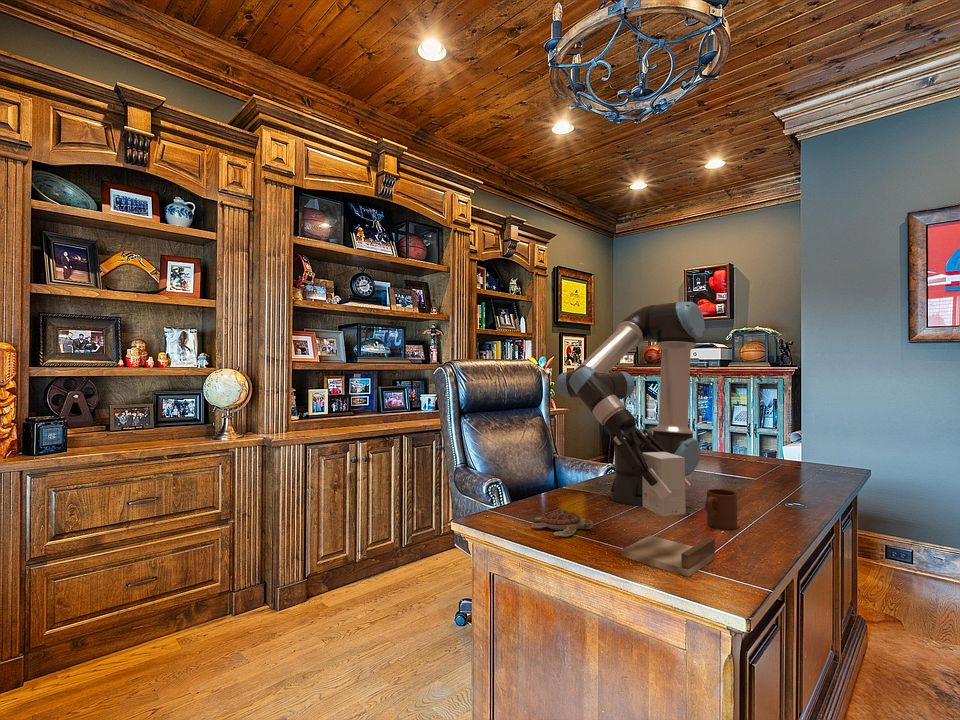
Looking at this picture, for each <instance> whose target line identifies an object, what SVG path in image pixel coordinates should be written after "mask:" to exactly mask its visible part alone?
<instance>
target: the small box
mask: <svg viewBox="0 0 960 720" xmlns="http://www.w3.org/2000/svg"><path fill="white" fill-rule="evenodd" d="M642 455H643V457H644V459H645V461H646V463H647V465H648V468H649V469H648V470H650V469H651V468H652V469H653V470H654V472H655V473H656V474H657V475H658V476H659V478H660V479H661V480H662V481H663V483H664V484H665V485H666V486H667V487H668V489H669V490H670V491H671V493H670V494H669V495H668V496H667V497H665V498H664V499H663V500H661V498H660V497H659V496H658V495H657V493H656V492H655V491H654V490H653V488H652V487H651V486H650V485H649V483H648V482H647V481H646V480H645V478H644V477H643V476H642V477H643V505H642V507H643V508H644V509H647V510H649V511H651V512H653V513H654V514H656V515H659V516H660V517H669V516H679V515H685V514H686V513H687V512H686V489H685V478H686V476H685V457H681V456H678V455H674V454H670V453H667V452H647V453H642Z"/></svg>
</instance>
